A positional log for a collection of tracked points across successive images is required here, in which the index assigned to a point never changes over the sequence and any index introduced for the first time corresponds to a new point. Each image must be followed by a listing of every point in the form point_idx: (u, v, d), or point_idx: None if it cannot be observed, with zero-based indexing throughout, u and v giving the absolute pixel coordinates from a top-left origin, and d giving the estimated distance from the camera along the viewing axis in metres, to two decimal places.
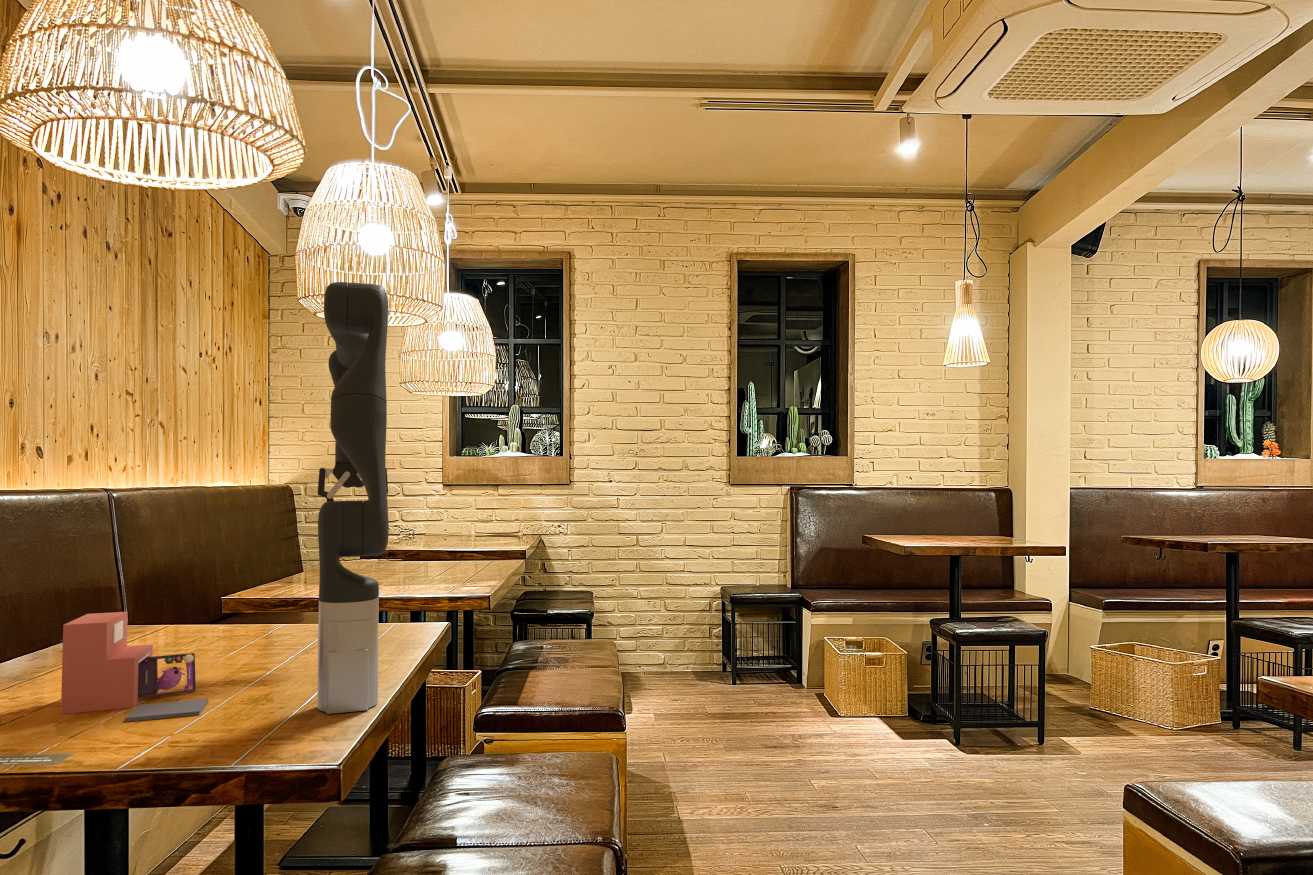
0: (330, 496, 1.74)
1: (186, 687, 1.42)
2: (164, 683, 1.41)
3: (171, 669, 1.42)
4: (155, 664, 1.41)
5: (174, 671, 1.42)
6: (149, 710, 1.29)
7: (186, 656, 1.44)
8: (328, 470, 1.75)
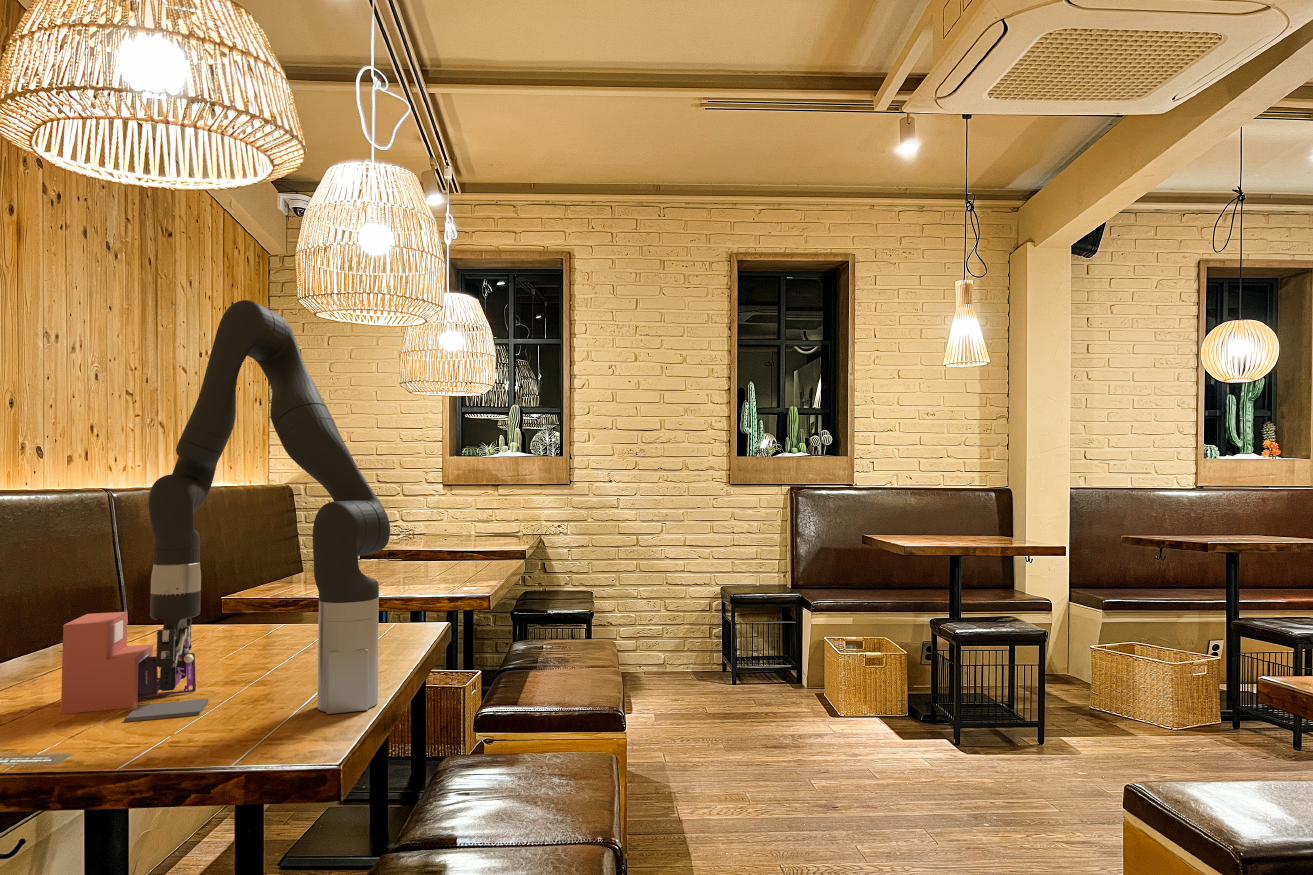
0: None
1: (186, 687, 1.42)
2: None
3: None
4: (155, 664, 1.41)
5: None
6: (149, 710, 1.29)
7: (186, 656, 1.44)
8: None
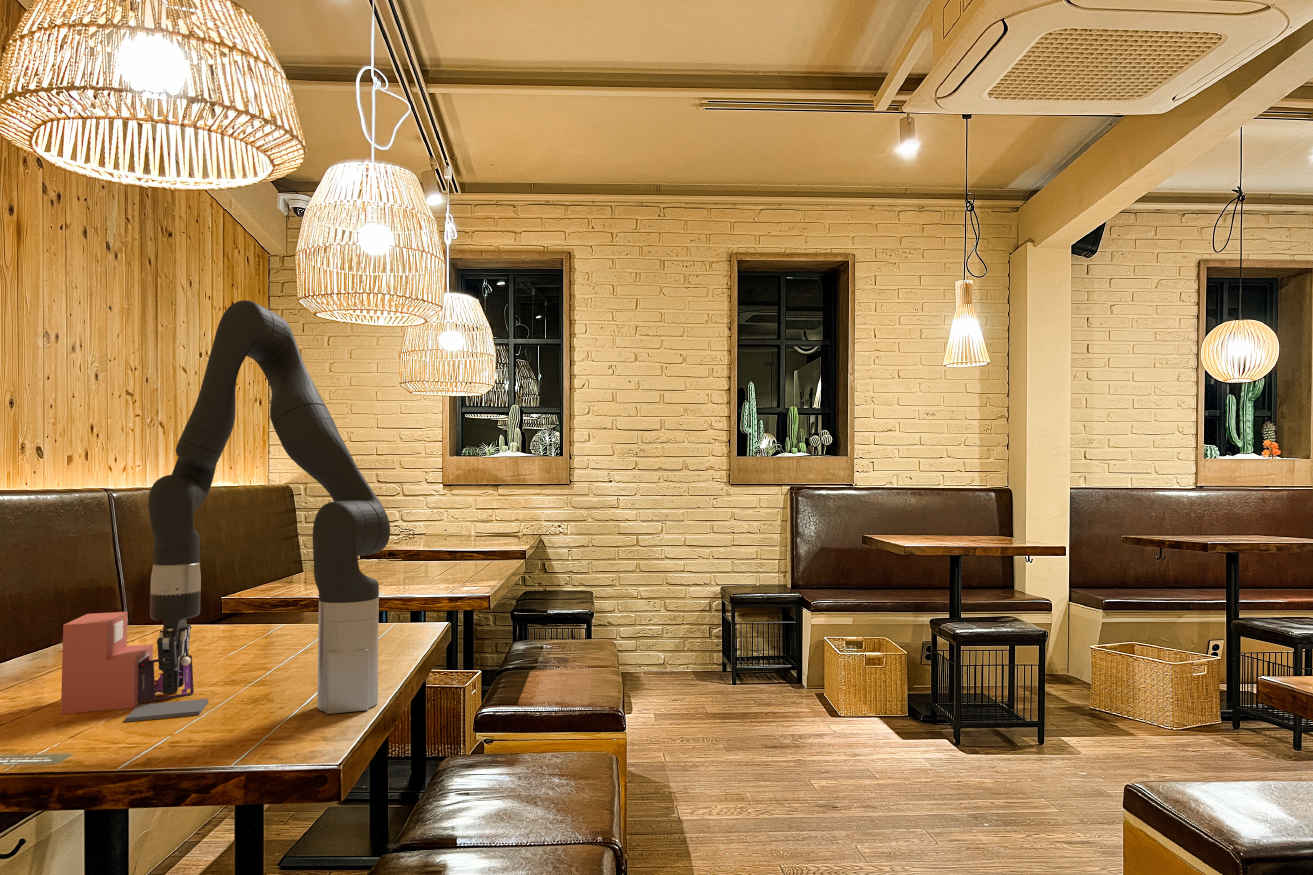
0: None
1: (184, 691, 1.41)
2: (161, 686, 1.40)
3: None
4: (152, 668, 1.39)
5: None
6: (149, 710, 1.29)
7: (183, 659, 1.42)
8: (171, 636, 1.37)
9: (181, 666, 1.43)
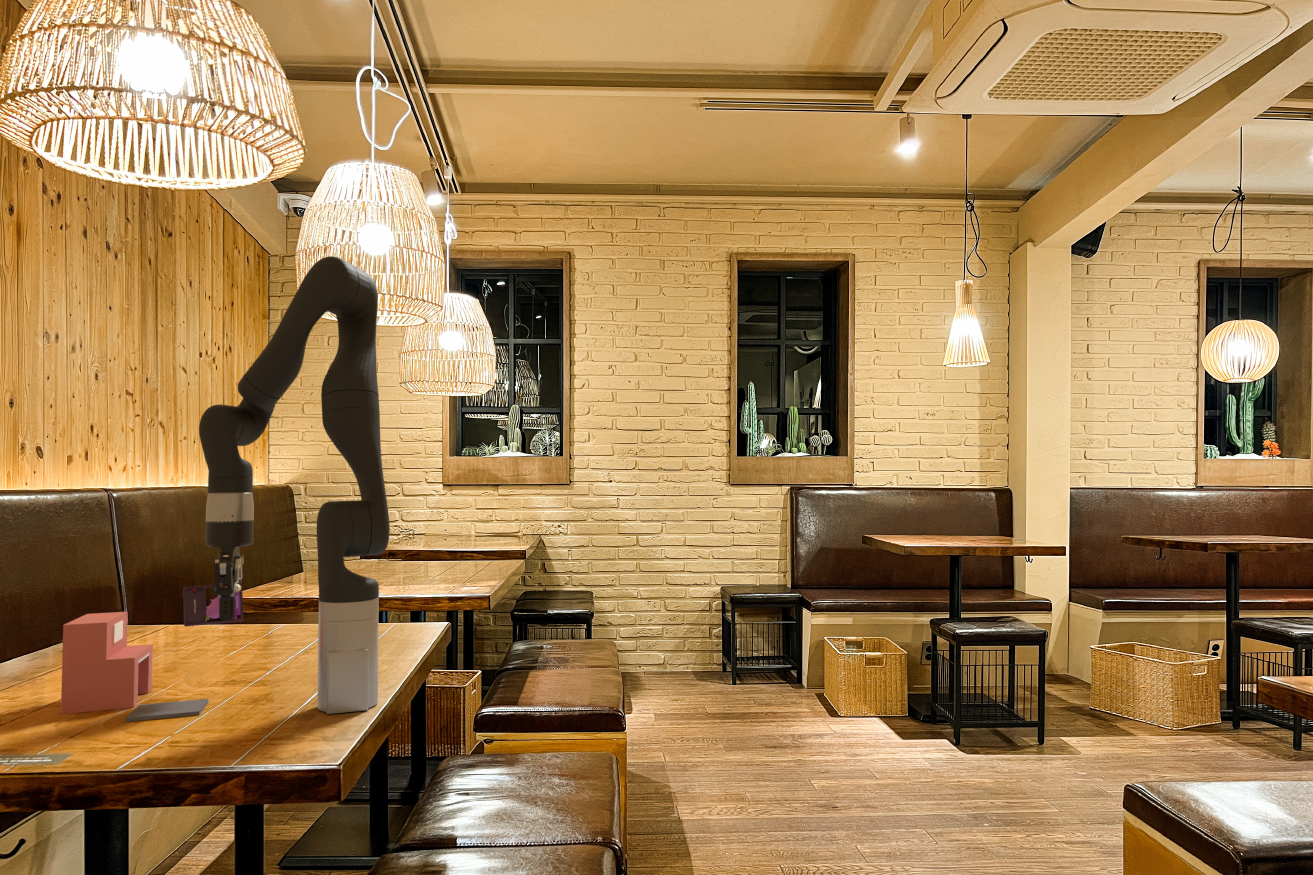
0: None
1: (234, 617, 1.42)
2: (213, 612, 1.42)
3: None
4: (203, 593, 1.41)
5: None
6: (149, 710, 1.29)
7: None
8: (227, 562, 1.39)
9: None
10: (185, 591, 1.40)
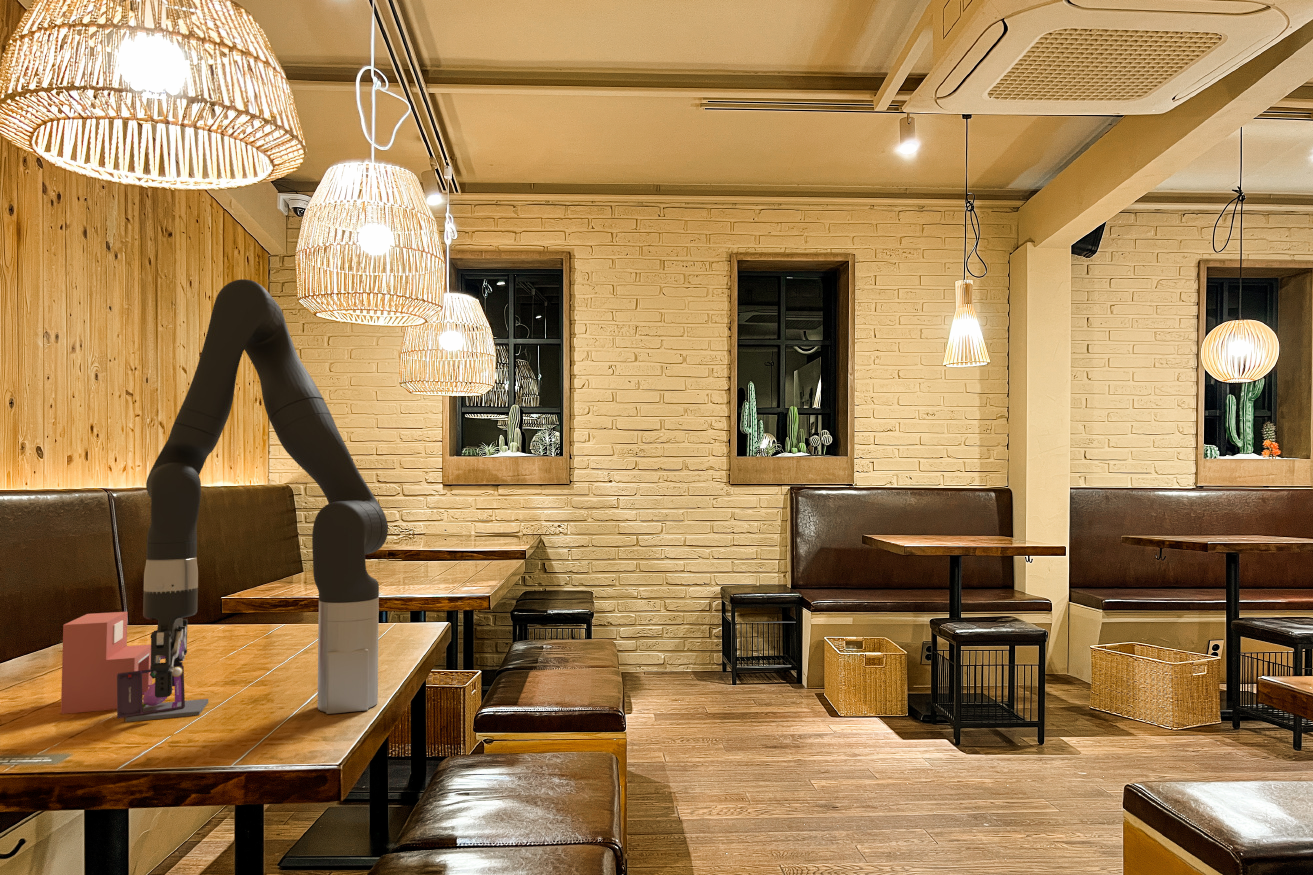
0: None
1: (174, 704, 1.30)
2: (150, 699, 1.29)
3: None
4: (139, 679, 1.28)
5: None
6: (149, 710, 1.29)
7: (174, 669, 1.31)
8: None
9: (179, 663, 1.35)
10: (119, 678, 1.27)
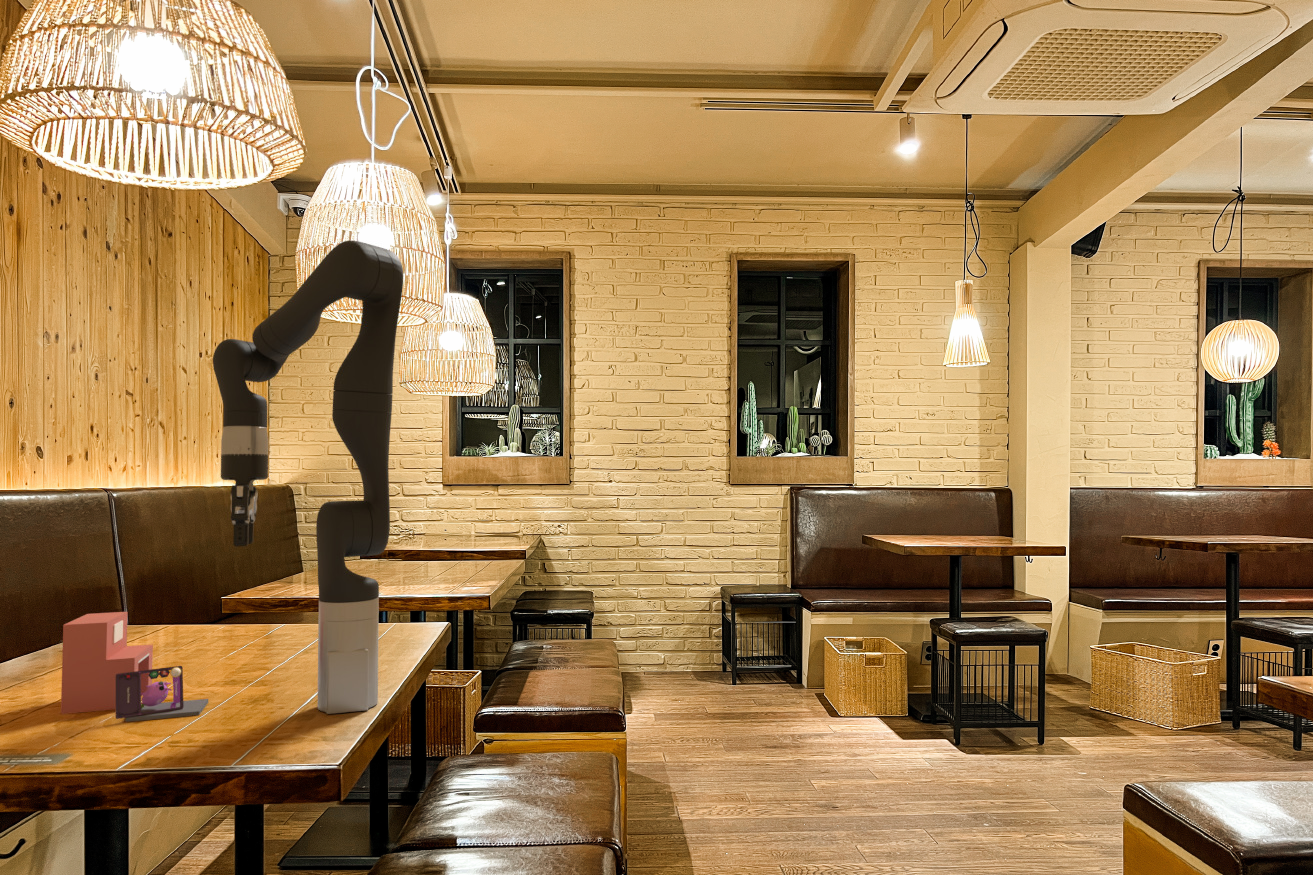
0: None
1: (173, 705, 1.29)
2: (149, 700, 1.29)
3: (156, 684, 1.29)
4: (138, 680, 1.28)
5: (160, 687, 1.29)
6: (149, 710, 1.29)
7: (172, 670, 1.31)
8: None
9: (251, 524, 1.48)
10: (117, 678, 1.27)
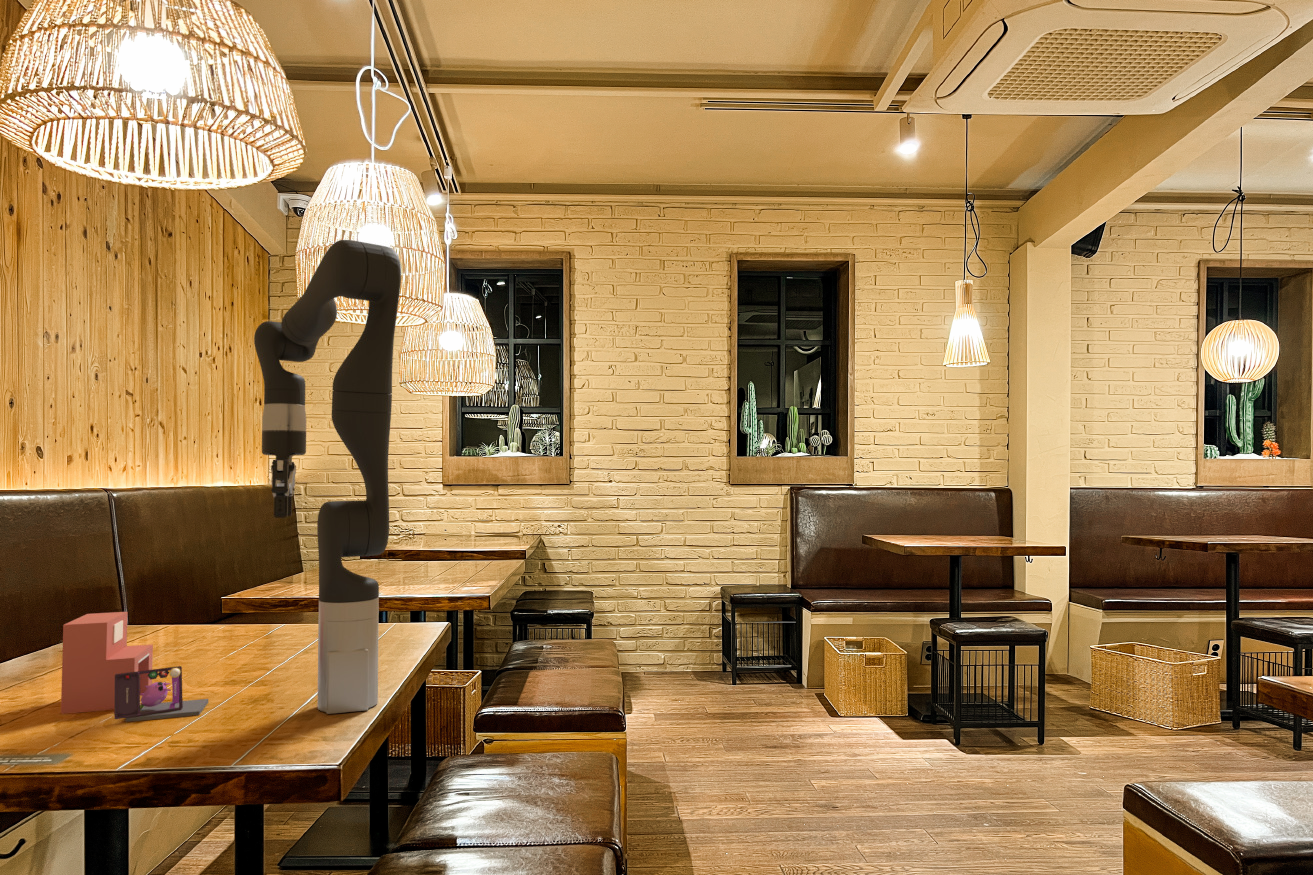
0: None
1: (172, 705, 1.29)
2: (148, 700, 1.28)
3: (155, 685, 1.29)
4: (137, 680, 1.28)
5: (159, 687, 1.29)
6: (149, 710, 1.29)
7: (172, 670, 1.30)
8: None
9: (289, 497, 1.56)
10: (116, 679, 1.26)
